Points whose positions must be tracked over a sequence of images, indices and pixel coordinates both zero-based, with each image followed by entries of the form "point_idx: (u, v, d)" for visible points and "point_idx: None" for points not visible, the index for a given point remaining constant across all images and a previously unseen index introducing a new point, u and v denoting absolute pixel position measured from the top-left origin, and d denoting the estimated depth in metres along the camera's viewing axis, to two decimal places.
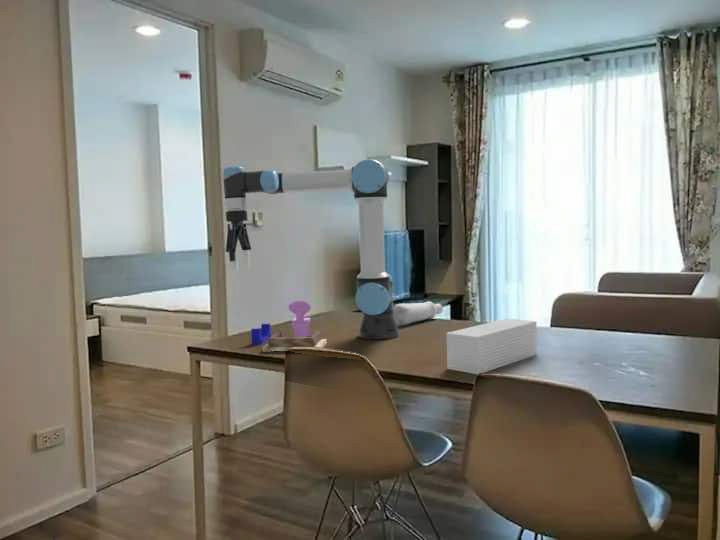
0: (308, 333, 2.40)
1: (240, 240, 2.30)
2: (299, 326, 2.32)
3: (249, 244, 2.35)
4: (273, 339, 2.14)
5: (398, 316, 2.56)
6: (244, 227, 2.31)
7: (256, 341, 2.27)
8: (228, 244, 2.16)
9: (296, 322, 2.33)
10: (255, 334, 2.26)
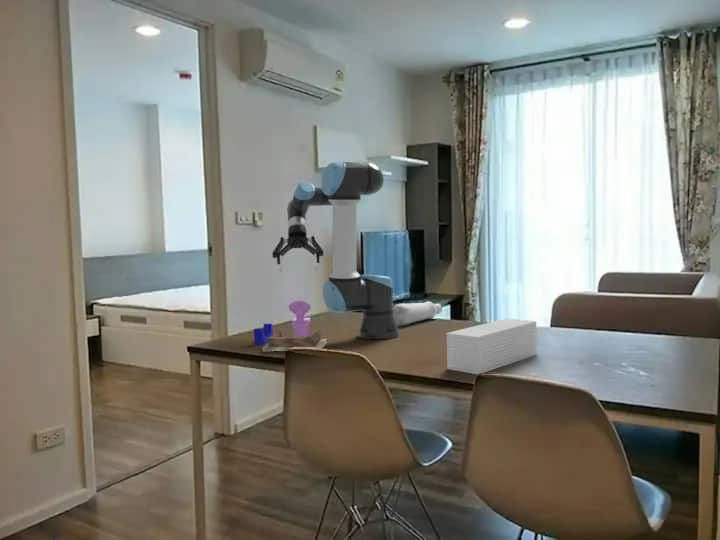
0: (308, 333, 2.40)
1: (308, 250, 2.52)
2: (299, 326, 2.32)
3: (320, 250, 2.50)
4: (273, 339, 2.14)
5: (398, 316, 2.56)
6: (310, 239, 2.54)
7: (259, 341, 2.26)
8: None
9: (296, 322, 2.33)
10: (257, 333, 2.26)
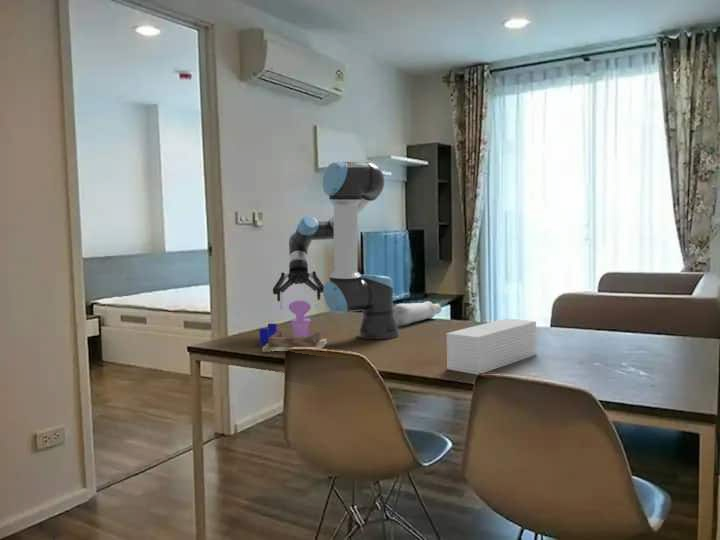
0: (308, 333, 2.40)
1: (309, 286, 2.48)
2: (299, 326, 2.32)
3: (321, 286, 2.45)
4: (273, 339, 2.14)
5: (398, 316, 2.56)
6: (311, 274, 2.49)
7: (264, 341, 2.26)
8: None
9: (296, 322, 2.33)
10: (263, 333, 2.26)
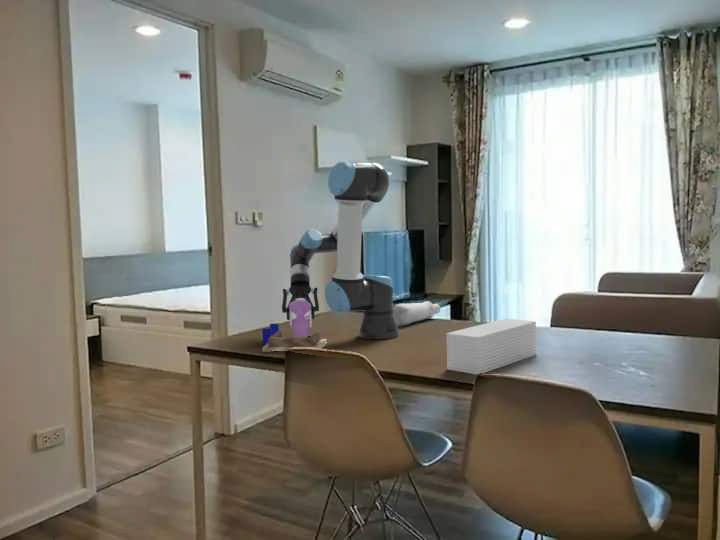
0: (308, 333, 2.40)
1: None
2: (299, 326, 2.32)
3: (316, 304, 2.37)
4: (273, 339, 2.14)
5: (398, 316, 2.56)
6: (313, 290, 2.42)
7: (267, 341, 2.26)
8: None
9: (296, 322, 2.33)
10: (266, 333, 2.26)
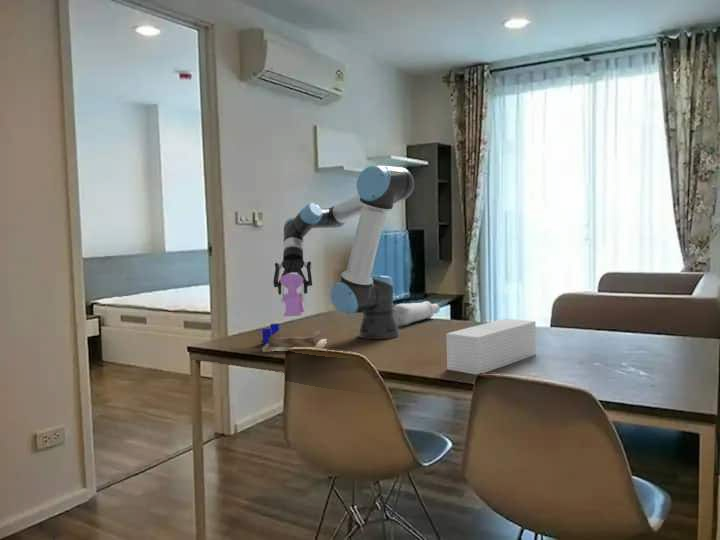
0: (301, 308, 2.30)
1: None
2: (291, 300, 2.23)
3: (309, 278, 2.28)
4: (273, 339, 2.14)
5: (398, 316, 2.56)
6: (306, 264, 2.32)
7: (267, 341, 2.26)
8: None
9: (288, 296, 2.23)
10: (266, 333, 2.26)
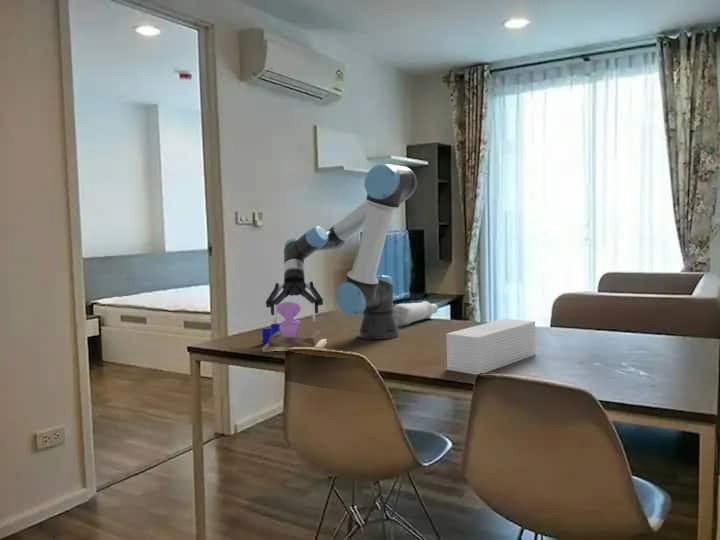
0: None
1: (306, 298, 2.25)
2: (288, 330, 2.16)
3: (319, 298, 2.23)
4: (273, 339, 2.14)
5: (399, 316, 2.56)
6: (309, 285, 2.27)
7: (267, 341, 2.26)
8: None
9: (285, 325, 2.17)
10: (266, 333, 2.26)
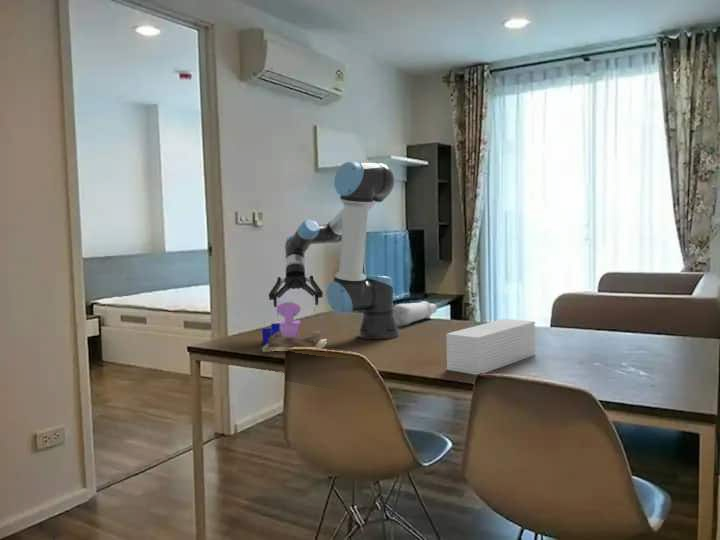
0: None
1: (307, 291, 2.39)
2: (288, 330, 2.16)
3: (319, 291, 2.37)
4: (273, 339, 2.14)
5: (399, 316, 2.56)
6: (309, 278, 2.41)
7: (267, 341, 2.26)
8: None
9: (285, 325, 2.17)
10: (266, 333, 2.26)
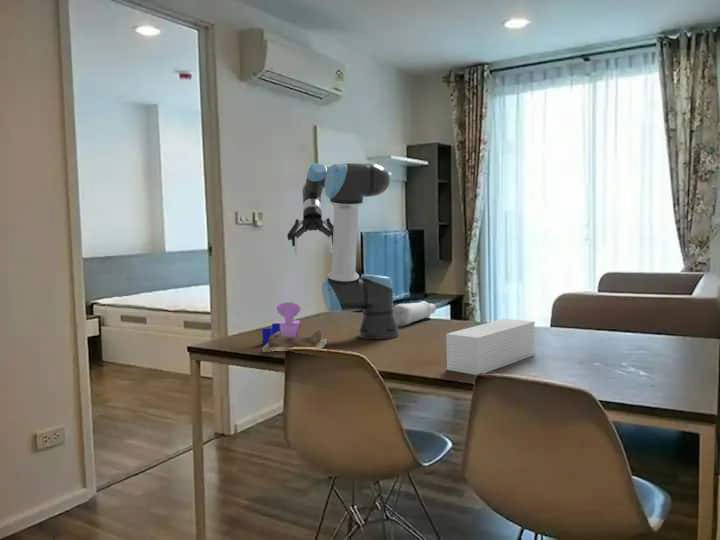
0: None
1: (323, 232, 2.49)
2: (288, 330, 2.16)
3: None
4: (273, 339, 2.14)
5: (399, 316, 2.56)
6: (326, 221, 2.51)
7: (267, 341, 2.26)
8: None
9: (285, 325, 2.17)
10: (266, 333, 2.26)
